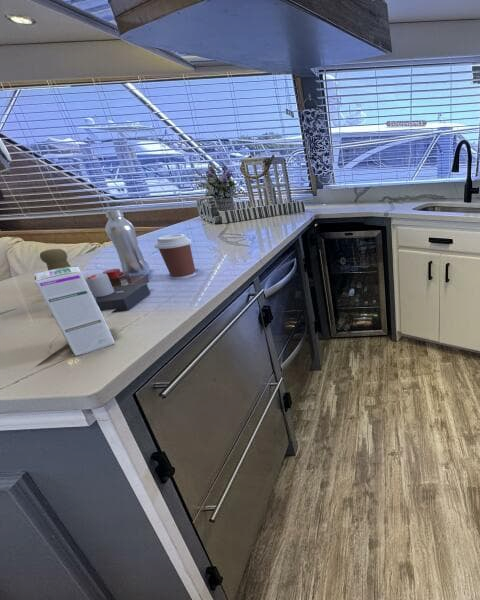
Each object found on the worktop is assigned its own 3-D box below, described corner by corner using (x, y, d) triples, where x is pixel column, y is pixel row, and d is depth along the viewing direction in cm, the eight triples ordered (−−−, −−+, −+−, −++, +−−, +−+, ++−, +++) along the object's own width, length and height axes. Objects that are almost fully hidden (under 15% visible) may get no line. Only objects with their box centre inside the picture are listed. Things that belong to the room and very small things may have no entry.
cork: (48, 290, 90) (29, 252, 86) (74, 283, 95) (57, 246, 91) (63, 291, 88) (44, 253, 84) (88, 284, 94) (71, 247, 89)
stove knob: (97, 291, 78) (89, 273, 76) (118, 289, 79) (110, 271, 77) (85, 298, 74) (76, 279, 72) (107, 296, 75) (99, 276, 73)
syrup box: (116, 343, 60) (83, 269, 54) (73, 357, 56) (33, 279, 50) (110, 334, 64) (79, 264, 58) (70, 347, 60) (32, 272, 54)
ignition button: (102, 279, 85) (99, 273, 85) (110, 275, 89) (107, 269, 88) (117, 278, 86) (115, 271, 85) (124, 274, 89) (122, 268, 89)
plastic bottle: (148, 278, 97) (123, 210, 89) (121, 281, 95) (93, 212, 87) (154, 272, 102) (131, 207, 95) (129, 275, 100) (103, 209, 92)
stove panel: (57, 319, 72) (50, 306, 70) (88, 300, 81) (83, 289, 80) (128, 310, 74) (123, 298, 73) (150, 293, 84) (146, 282, 83)
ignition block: (85, 297, 84) (78, 283, 82) (105, 286, 92) (100, 272, 90) (132, 292, 86) (127, 278, 84) (148, 281, 94) (144, 268, 92)
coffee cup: (198, 269, 104) (186, 232, 99) (203, 275, 97) (191, 236, 92) (164, 275, 98) (151, 237, 94) (168, 283, 92) (153, 241, 87)
